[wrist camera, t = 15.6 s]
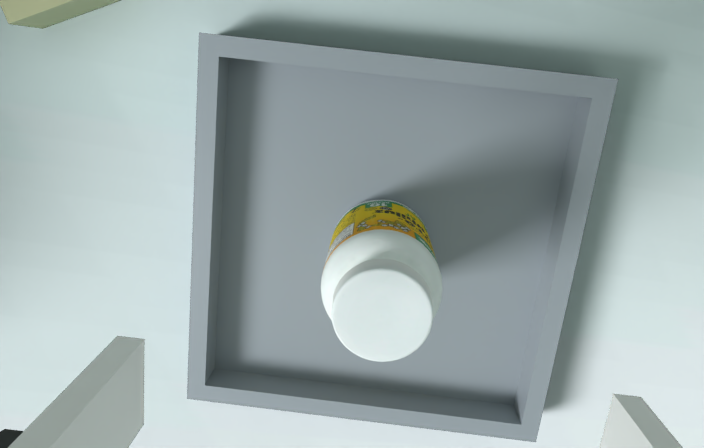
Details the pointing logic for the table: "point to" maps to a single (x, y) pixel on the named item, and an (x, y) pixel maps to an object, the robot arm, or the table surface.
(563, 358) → the table surface
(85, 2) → the olive brick
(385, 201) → the supplement bottle
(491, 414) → the slate tray
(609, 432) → the robot arm
